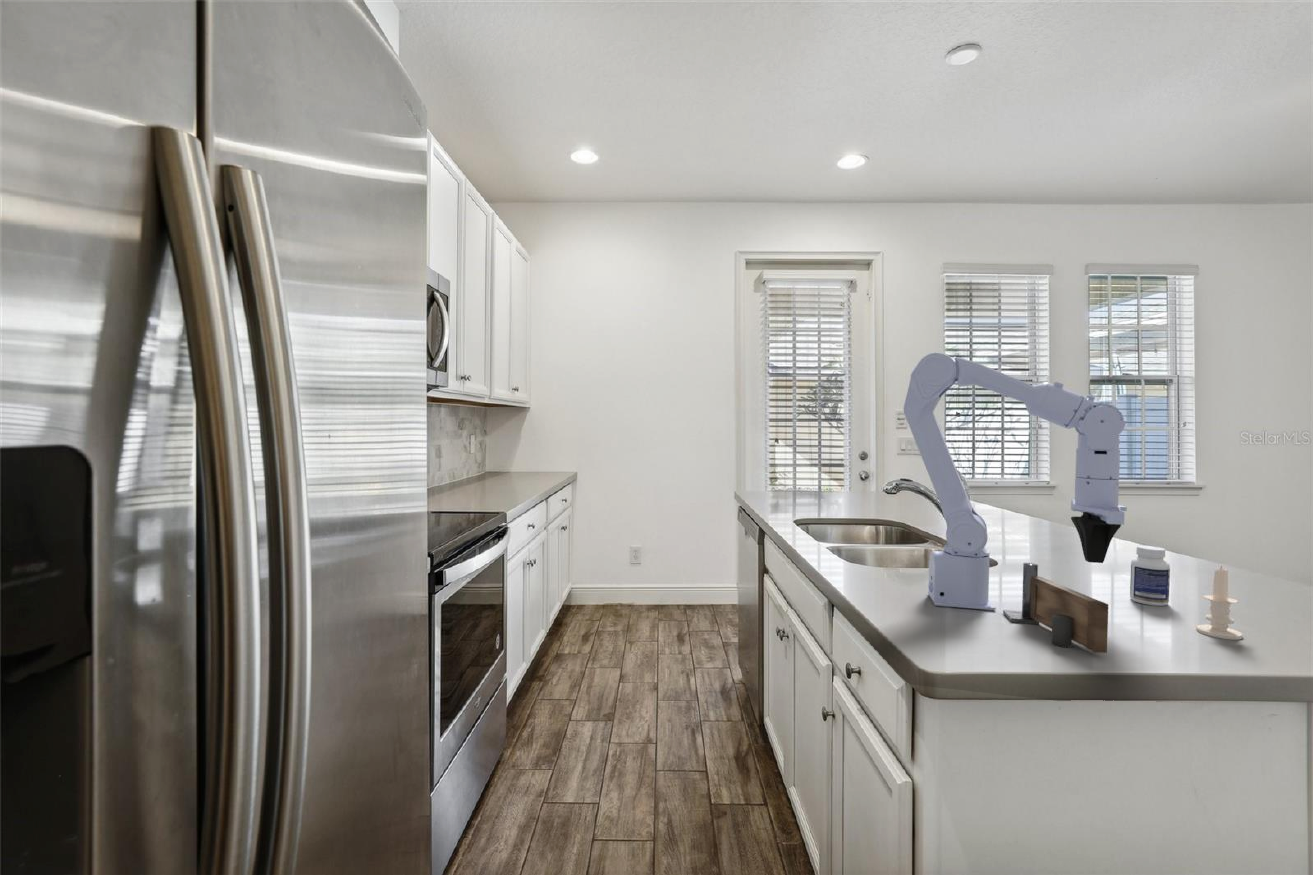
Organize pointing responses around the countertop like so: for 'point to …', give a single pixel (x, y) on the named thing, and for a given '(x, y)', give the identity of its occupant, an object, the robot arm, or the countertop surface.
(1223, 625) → the candle
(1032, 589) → the gate
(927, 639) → the countertop surface
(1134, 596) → the pill bottle
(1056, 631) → the block
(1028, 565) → the gate post
